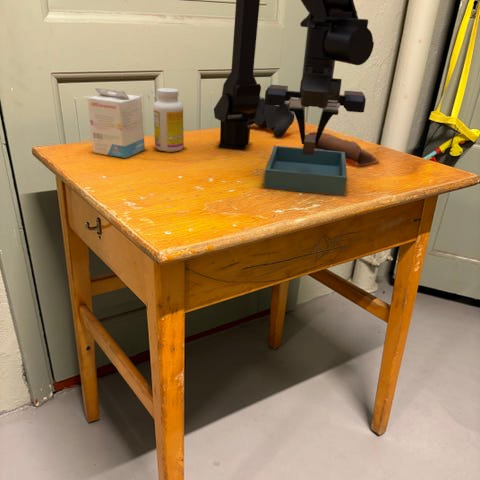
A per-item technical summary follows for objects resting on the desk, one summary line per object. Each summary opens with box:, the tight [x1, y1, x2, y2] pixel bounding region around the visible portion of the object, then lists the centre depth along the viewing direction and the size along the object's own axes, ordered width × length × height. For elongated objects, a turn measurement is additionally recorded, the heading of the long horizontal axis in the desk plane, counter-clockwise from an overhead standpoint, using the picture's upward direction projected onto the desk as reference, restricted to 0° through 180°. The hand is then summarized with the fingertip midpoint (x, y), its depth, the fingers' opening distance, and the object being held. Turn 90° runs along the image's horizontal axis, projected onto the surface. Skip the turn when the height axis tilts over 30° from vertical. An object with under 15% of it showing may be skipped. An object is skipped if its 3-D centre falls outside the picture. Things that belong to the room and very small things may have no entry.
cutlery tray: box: [263, 145, 348, 197], centre depth 108 cm, size 16×19×4 cm
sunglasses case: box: [307, 131, 379, 167], centre depth 124 cm, size 18×7×7 cm
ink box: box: [87, 87, 146, 159], centre depth 114 cm, size 9×8×13 cm
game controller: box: [248, 96, 295, 139], centre depth 140 cm, size 16×7×10 cm, turn 52°
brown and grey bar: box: [302, 134, 316, 155], centre depth 105 cm, size 12×2×2 cm, turn 172°
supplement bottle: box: [152, 87, 185, 153], centre depth 119 cm, size 7×7×13 cm
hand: (309, 144), depth 104 cm, fingers closed on brown and grey bar, 2 cm apart
